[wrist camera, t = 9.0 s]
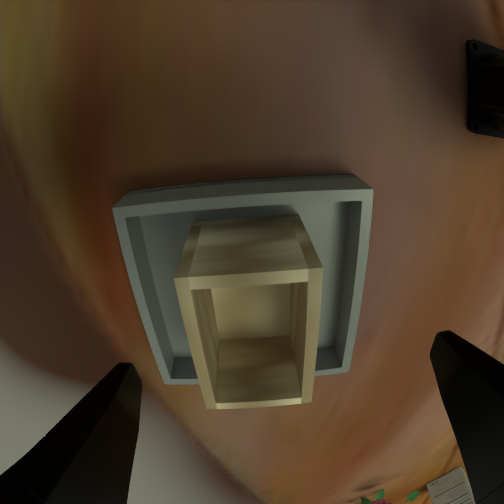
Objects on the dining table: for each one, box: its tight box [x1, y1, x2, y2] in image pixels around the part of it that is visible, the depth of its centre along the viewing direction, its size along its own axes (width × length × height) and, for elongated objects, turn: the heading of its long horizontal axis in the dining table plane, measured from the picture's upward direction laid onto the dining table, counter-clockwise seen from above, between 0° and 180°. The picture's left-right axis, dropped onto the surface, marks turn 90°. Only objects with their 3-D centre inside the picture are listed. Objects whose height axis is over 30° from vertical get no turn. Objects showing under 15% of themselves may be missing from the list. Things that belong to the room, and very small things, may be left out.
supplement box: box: [426, 466, 475, 504], centre depth 41 cm, size 9×9×15 cm
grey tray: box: [112, 175, 374, 384], centre depth 20 cm, size 13×13×3 cm
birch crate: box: [174, 214, 323, 409], centre depth 18 cm, size 6×9×6 cm, turn 4°
